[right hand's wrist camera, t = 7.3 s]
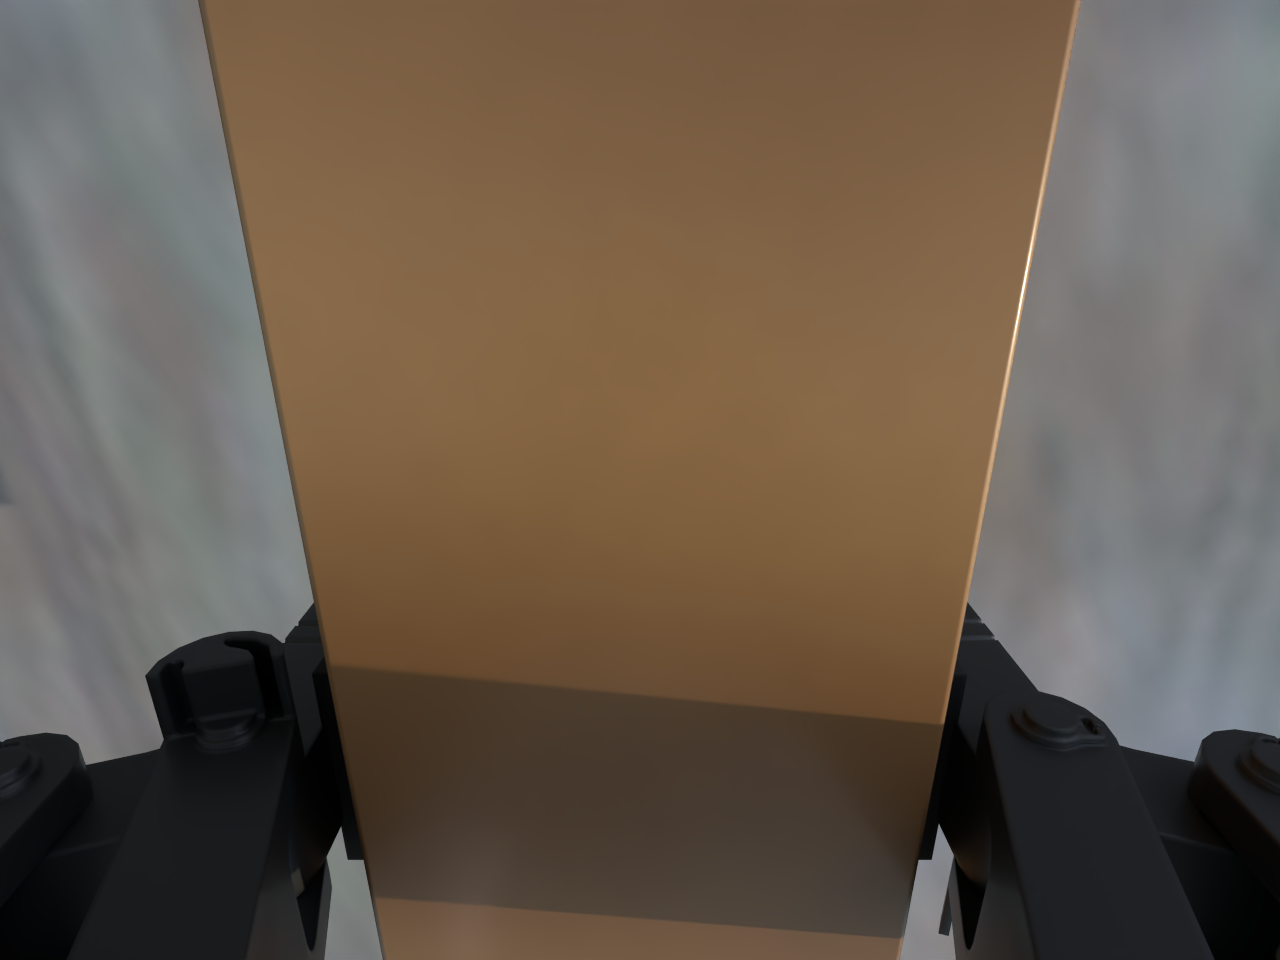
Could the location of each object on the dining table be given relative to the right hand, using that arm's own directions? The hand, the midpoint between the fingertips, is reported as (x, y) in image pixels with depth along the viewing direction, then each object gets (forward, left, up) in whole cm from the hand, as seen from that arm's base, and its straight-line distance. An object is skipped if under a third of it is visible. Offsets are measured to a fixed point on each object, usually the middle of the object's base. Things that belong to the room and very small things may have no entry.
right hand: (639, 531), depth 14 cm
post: (+11, +18, -1) cm, 21 cm away
